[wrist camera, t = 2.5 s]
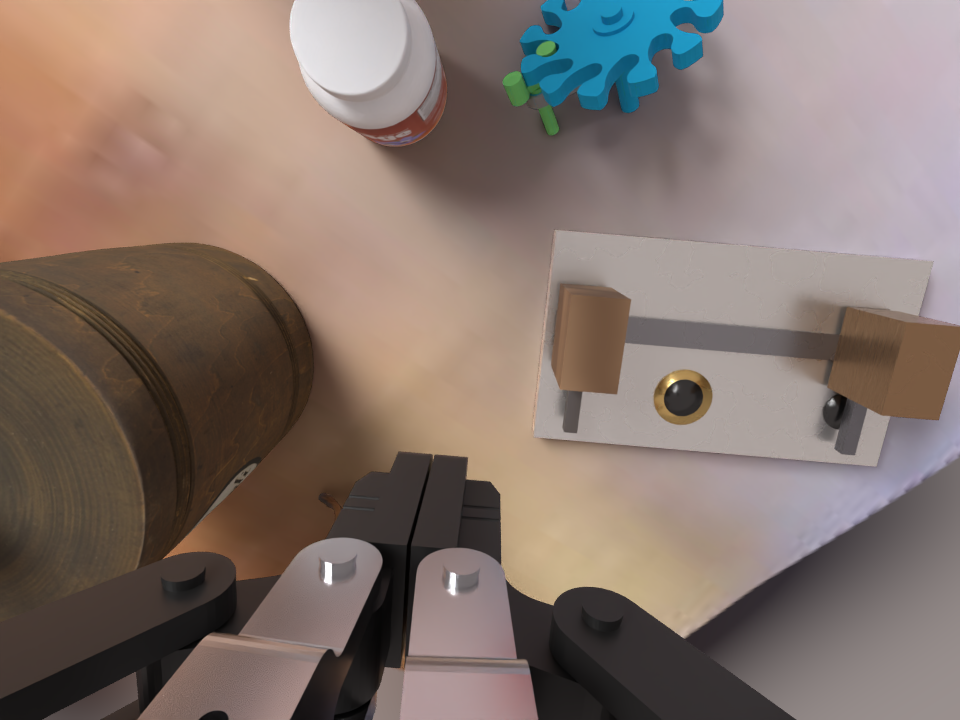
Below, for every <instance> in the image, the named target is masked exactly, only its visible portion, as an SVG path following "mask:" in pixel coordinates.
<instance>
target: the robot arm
mask: <svg viewBox="0 0 960 720" xmlns="http://www.w3.org/2000/svg"><path fill="white" fill-rule="evenodd" d="M467 464H468V457H458V456H447V455H435V456H434V459H433V455H432V454H422V453H411V452H398V454H397V457H396V459H395V462H394V464H393V466H392V469H391V471H390V473H383V472H370V473H369V474H367V475H366V476H364V477H363V478H361V479H360V480H358V481H357V482H356V483H355V485H354V487H353V489H352V491H351V492H350V494H349V498H347V500H346V502H345V504H344V506H343V509H341V511H340V513H339V515H338V517H337V519H336V521H335V523H334V524H333V526H332V528H331V530H330V532H329V534H328V536H327V538H326V539H325V540H322V541H319V542H316V543H313V544H311V545H309V546H307V547H306V548H304V549H303V550H301V551H300V552H299V553H298V554H297V555H296V556H295V558H294V559H293V560H292V562H291V563H290V564H289V566H288V567H287V569H286V570H285V571H284V573H283V574H281V575H277V576H271V577H265V578H257V579H248V580H240V581H236V568H235V565H234V563H233V562H232V561H231V560H230V559H228V558H227V557H225V556H223V555H220V554H216V553H211V552H190V553H184V554H179V555H175V556H171V557H168V558H165V559H162V560H160V561H157V562H155V563H152V564H149V565H147V566H144V567H142V568H139V569H136V570H134V571H131V572H129V573H126V574H123V575H121V576H118V577H116V578H113V579H110V580H108V581H105V582H103V583H100V584H98V585H95V586H92V587H90V588H87V589H85V590H82V591H79V592H77V593H74V594H72V595H69V596H66V597H64V598H61V599H59V600H56V601H53V602H51V603H48V604H46V605H43V606H40V607H38V608H35V609H33V610H30V611H28V612H25V613H22V614H20V615H17V616H15V617H12V618H9V619H7V620H4V621H2V622H0V720H42V719H44V718H46V717H48V716H49V715H51V714H53V713H55V712H57V711H59V710H61V709H63V708H65V707H67V706H69V705H71V704H73V703H75V702H77V701H79V700H81V699H83V698H85V697H87V696H89V695H91V694H93V693H95V692H96V691H98V690H100V689H102V688H104V687H106V686H108V685H110V684H112V683H114V682H116V681H118V680H120V679H122V678H124V677H126V676H128V675H130V674H132V673H134V672H136V677H137V688H138V700H136V701H134V702H132V703H131V704H129V705H127V706H125V707H123V708H121V709H119V710H117V711H116V712H114V713H112V714H110V715H108V716H106V717H105V718H103V719H101V720H372V719H373V716H374V713H375V709H376V701H377V690H378V688H379V686H380V683H381V680H382V675H383V671H384V667H391V668H400V667H401V662H402V657H403V653H404V648H405V663H404V668H405V673H404V683H403V692H402V702H401V711H400V720H796V719H794V718H793V717H792V716H790V715H789V714H788V713H786V712H785V711H783V710H782V709H781V708H779V707H778V706H776V705H775V704H774V703H772V702H771V701H770V700H768V699H767V698H765V697H764V696H763V695H761V694H760V693H758V692H757V691H756V690H754V689H753V688H751V687H750V686H749V685H747V684H746V683H744V682H743V681H742V680H740V679H739V678H738V677H736V676H735V675H733V674H732V673H731V672H729V671H728V670H726V669H725V668H724V667H722V666H721V665H719V664H718V663H717V662H715V661H714V660H713V659H711V658H710V657H708V656H707V655H706V654H704V653H703V652H701V651H700V650H699V649H697V648H696V647H695V646H693V645H692V644H690V643H689V642H688V641H686V640H685V639H683V638H682V637H681V636H679V635H678V634H677V633H675V632H674V631H672V630H671V629H670V628H668V627H667V626H665V625H664V624H663V623H661V622H660V621H658V620H657V619H656V618H654V617H653V616H652V615H650V614H649V613H647V612H646V611H645V610H643V609H642V608H640V607H639V606H638V605H636V604H635V603H633V602H632V601H631V600H629V599H627V598H626V597H624V596H622V595H620V594H618V593H615V592H613V591H610V590H606V589H602V588H596V587H579V588H574V589H571V590H568V591H566V592H564V593H562V594H561V595H560V596H559V597H558V598H557V600H556V601H555V603H554V606H553V605H550V604H546V603H543V602H540V601H537V600H535V599H532V598H530V597H528V596H526V595H524V594H522V593H520V592H519V591H517V590H516V589H515V588H514V587H512V586H511V585H510V584H509V582H508V581H507V580H506V578H505V573H504V570H503V568H502V567H501V522H500V520H501V516H500V493H499V492H498V491H497V490H496V488H495V487H494V486H493V485H492V483H491V482H488V481H476V480H466V476H467ZM405 643H406V645H405Z"/></svg>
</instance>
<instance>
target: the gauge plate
mask: <svg viewBox="0 0 960 720" xmlns="http://www.w3.org/2000/svg"><path fill="white" fill-rule="evenodd" d="M932 266H933V261H923V260H913V259H901V258H889V257H877V256H865V255H853V254H841V253H829V252H817V251H805V250H793V249H781V248H769V247H757V246H745V245H733V244H721V243H709V242H697V241H685V240H673V239H661V238H649V237H638V236H626V235H614V234H602V233H590V232H578V231H566V230H554V235H553V244H552V253H551V262H550V271H549V280H548V289H547V298H546V307H545V316H544V325H543V334H542V343H541V352H540V361H539V370H538V379H537V388H536V397H535V406H534V415H533V425H532V431H533V437H537V438H549V439H561V440H572V441H584V442H596V443H607V444H619V445H631V446H642V447H654V448H665V449H677V450H689V451H700V452H712V453H724V454H735V455H747V456H759V457H770V458H782V459H794V460H805V461H817V462H828V463H840V464H852V465H863V466H875V467H876V466H877V463H878V459H879V456H880V452H881V449H882V445H883V441H884V438H885V434H886V431H887V427H888V423H889V420H890V416H894V417H905V418H917V419H929V420H939V417H940V414H941V410H942V407H943V404H944V400H945V397H946V394H947V391H948V387H949V384H950V381H951V377H952V374H953V371H954V367H955V364H956V361H957V357H958V354H959V351H960V326H959V325H955V324H951V323H947V322H942V321H938V320H934V319H929V318H925V317H921V316H919V312H920V309H921V305H922V301H923V298H924V294H925V291H926V287H927V284H928V280H929V276H930V273H931V269H932ZM560 283H563V284H575V285H587V286H599V287H611V288H613V289H615V290H616V291H618V292H619V293H621V294H623V295H624V296H626V297H628V298H629V299H631V305H630V312H629V318H628V325H627V332H626V339H625V345H624V352H623V359H622V366H621V372H620V379H619V386H618V392H617V394H605V393H593V392H582V400H581V407H580V415H579V422H578V430H577V433H567V432H564V431H563V428H562V426H563V418H564V410H565V402H566V394H567V390H560V388H559V386H558V383H557V380H556V378H555V375H554V372H553V370H552V367H551V360H552V351H553V343H554V334H555V325H556V317H557V308H558V300H559V291H560Z"/></svg>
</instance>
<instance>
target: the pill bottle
mask: <svg viewBox="0 0 960 720" xmlns="http://www.w3.org/2000/svg"><path fill="white" fill-rule="evenodd" d="M290 38H291V43H292V46H293V50H294V53H295V55H296V57H297V60H298V61H299V66H300V70H301V73H302V76H303V79H304V81H305V83H306V86H307V87H308V89H309V91H310V93H311V94H312V95H313V97H314V98H315V100H316V101H317V102H318V103H319V105H320V106H321V107H322V108H324V109H325V110H326V111H327V112H328V113H329V114H330V115H332V116H333V117H334V118H336V119H337V120H339V121H340V122H342V123H343V124H345V125H347V126H348V127H350V128H351V129H353V130H355V131H356V132H358V133H360V134H361V135H363V136H364V137H366V138H367V139H369V140H371V141H373V142H376V143H378V144H381V145H385V146H395V147H397V146H405V145H410V144H413V143H415V142H417V141H419V140H421V139H423V138H424V137H426V136H427V135H428V134H429V133H430V132H431V131H432V130H433V129H434V128H435V127H436V125H437V124H438V122H439V120H440V118H441V116H442V114H443V112H444V108H445V105H446V99H447V82H446V76H445V72H444V69H443V66H442V62H441V59H440V56H439V53H438V50H437V47H436V43H435V40H434V37H433V33H432V30H431V27H430V25H429V23H428V21H427V18H426V16H425V15H424V13H423V11H422V10H421V8H420V7H419V5H418V4H417V2H416V1H415V0H295V1H294V3H293V6H292V10H291V15H290Z"/></svg>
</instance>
